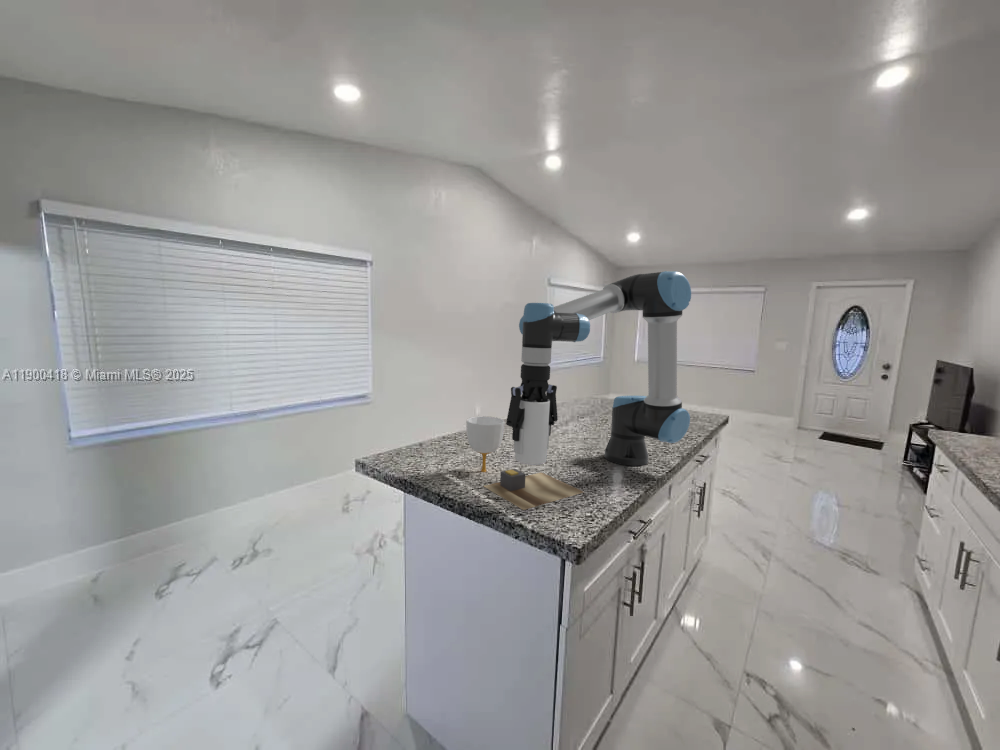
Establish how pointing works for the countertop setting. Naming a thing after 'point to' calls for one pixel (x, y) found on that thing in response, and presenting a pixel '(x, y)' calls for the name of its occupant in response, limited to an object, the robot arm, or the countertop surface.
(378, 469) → the countertop surface
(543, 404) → the cup
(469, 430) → the cup
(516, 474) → the dark grey box
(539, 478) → the panel
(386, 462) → the countertop surface
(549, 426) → the robot arm
